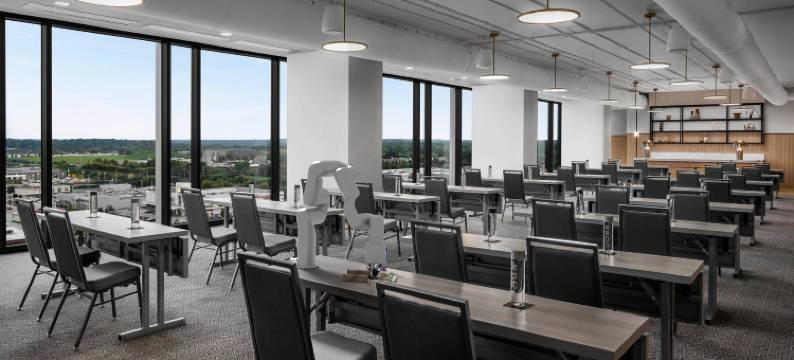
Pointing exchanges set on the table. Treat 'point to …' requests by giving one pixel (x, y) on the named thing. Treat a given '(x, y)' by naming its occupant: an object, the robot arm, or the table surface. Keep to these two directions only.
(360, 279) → the corridor
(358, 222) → the robot arm
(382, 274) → the birch block
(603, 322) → the table surface
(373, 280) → the frame
